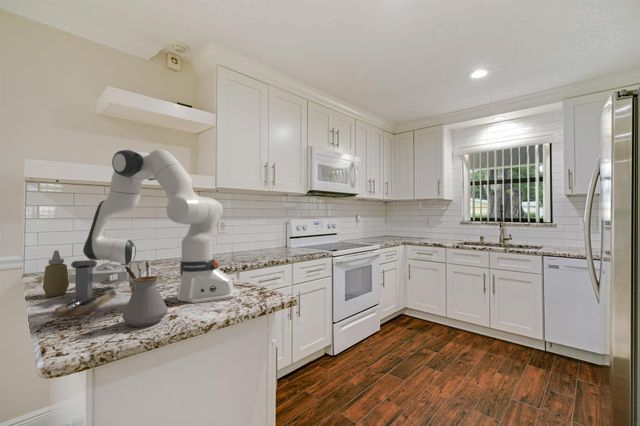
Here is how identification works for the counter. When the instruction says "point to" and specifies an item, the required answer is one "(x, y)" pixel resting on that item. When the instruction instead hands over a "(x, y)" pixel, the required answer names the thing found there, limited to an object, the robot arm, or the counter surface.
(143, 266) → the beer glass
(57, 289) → the squeeze bottle
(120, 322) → the counter surface
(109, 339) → the counter surface
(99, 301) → the track
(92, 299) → the handle
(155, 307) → the coffee pot
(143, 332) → the counter surface
